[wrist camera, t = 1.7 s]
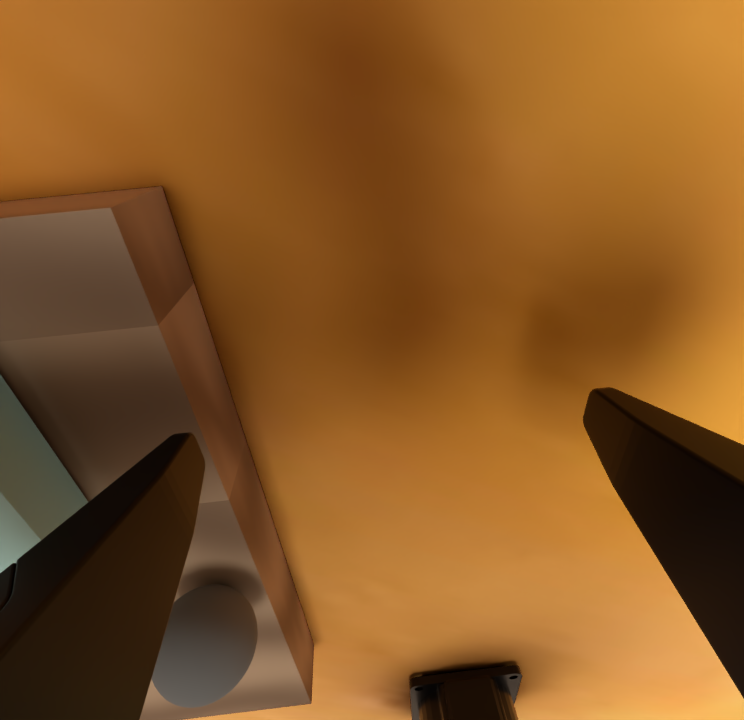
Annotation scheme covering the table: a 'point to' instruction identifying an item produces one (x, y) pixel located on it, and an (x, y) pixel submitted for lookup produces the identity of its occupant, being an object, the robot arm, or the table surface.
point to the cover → (29, 483)
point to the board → (145, 402)
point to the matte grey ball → (205, 646)
